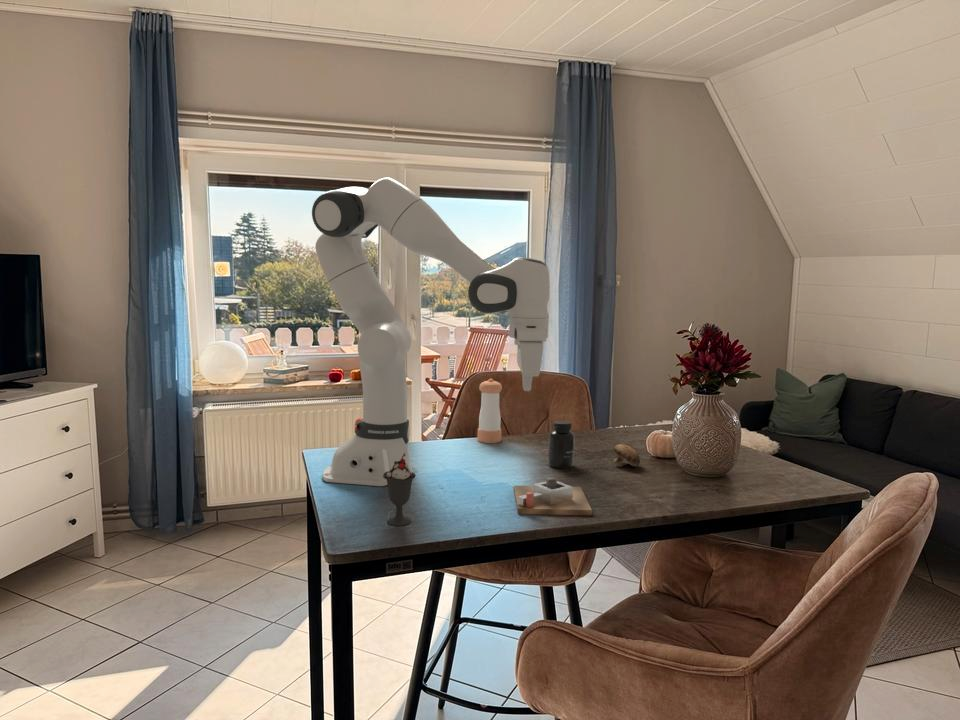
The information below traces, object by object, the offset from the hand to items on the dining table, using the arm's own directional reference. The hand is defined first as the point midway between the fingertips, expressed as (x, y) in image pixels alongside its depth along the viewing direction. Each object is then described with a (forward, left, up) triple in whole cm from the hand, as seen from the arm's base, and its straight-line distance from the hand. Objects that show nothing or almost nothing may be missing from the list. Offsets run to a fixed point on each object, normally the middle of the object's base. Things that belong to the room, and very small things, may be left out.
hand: (526, 390), depth 160 cm
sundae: (-27, -18, -25) cm, 41 cm away
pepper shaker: (-7, +52, -25) cm, 58 cm away
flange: (+4, -6, -24) cm, 25 cm away
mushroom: (+30, +27, -25) cm, 48 cm away
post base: (+6, -4, -25) cm, 26 cm away
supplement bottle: (+12, +26, -25) cm, 38 cm away
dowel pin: (+1, -11, -24) cm, 26 cm away
